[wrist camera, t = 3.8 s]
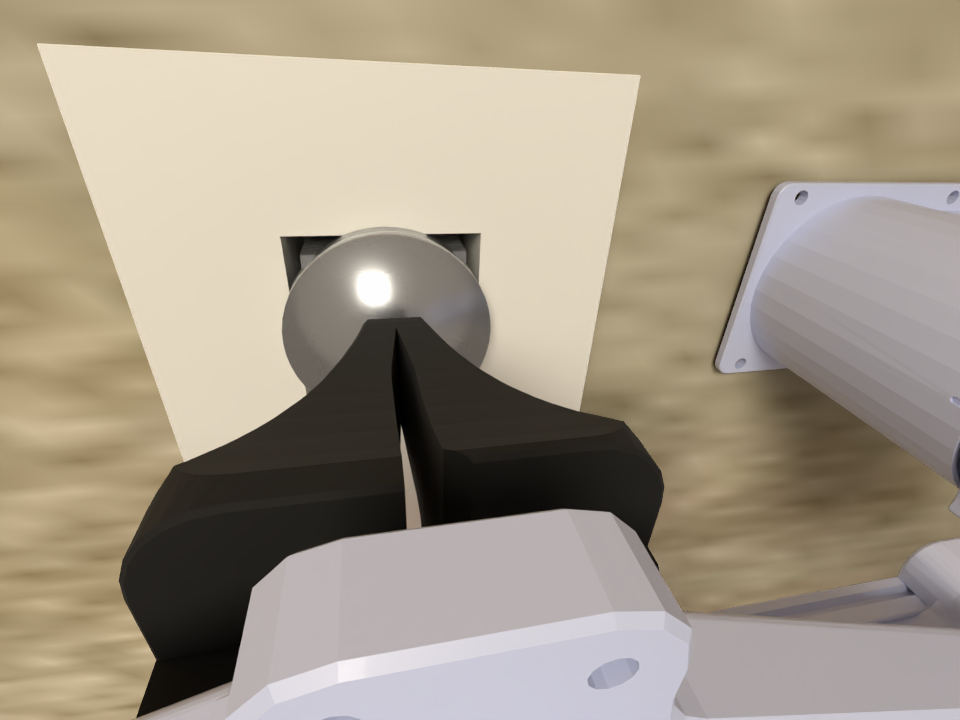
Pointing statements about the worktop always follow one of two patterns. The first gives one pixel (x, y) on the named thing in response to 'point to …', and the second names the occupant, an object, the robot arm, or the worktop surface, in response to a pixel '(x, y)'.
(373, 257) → the grey button
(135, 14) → the worktop surface
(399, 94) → the control box
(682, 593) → the worktop surface
